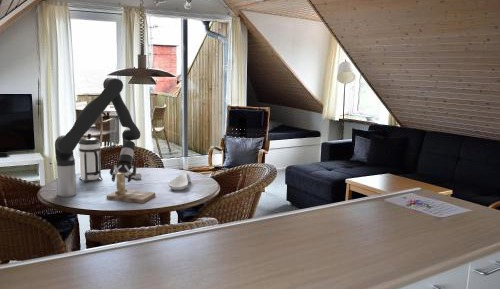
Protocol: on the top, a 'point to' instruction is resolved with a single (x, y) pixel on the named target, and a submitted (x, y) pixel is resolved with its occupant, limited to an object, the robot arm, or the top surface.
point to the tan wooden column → (120, 183)
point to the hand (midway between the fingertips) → (120, 181)
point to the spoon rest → (180, 182)
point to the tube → (137, 176)
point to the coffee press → (90, 158)
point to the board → (132, 196)
